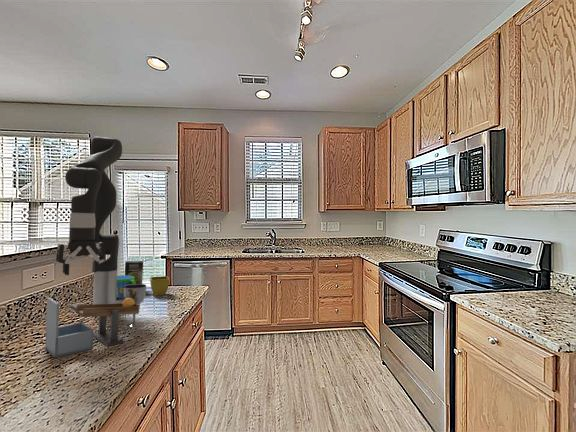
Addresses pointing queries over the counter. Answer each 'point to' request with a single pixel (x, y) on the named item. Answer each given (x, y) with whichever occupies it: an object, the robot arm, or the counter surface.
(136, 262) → the coffee box
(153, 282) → the flower pot
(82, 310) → the lever
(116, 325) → the lever stand
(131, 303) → the ball
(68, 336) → the grey-blue open bin
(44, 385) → the counter surface
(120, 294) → the snack cup
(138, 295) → the wine glass
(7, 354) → the counter surface
